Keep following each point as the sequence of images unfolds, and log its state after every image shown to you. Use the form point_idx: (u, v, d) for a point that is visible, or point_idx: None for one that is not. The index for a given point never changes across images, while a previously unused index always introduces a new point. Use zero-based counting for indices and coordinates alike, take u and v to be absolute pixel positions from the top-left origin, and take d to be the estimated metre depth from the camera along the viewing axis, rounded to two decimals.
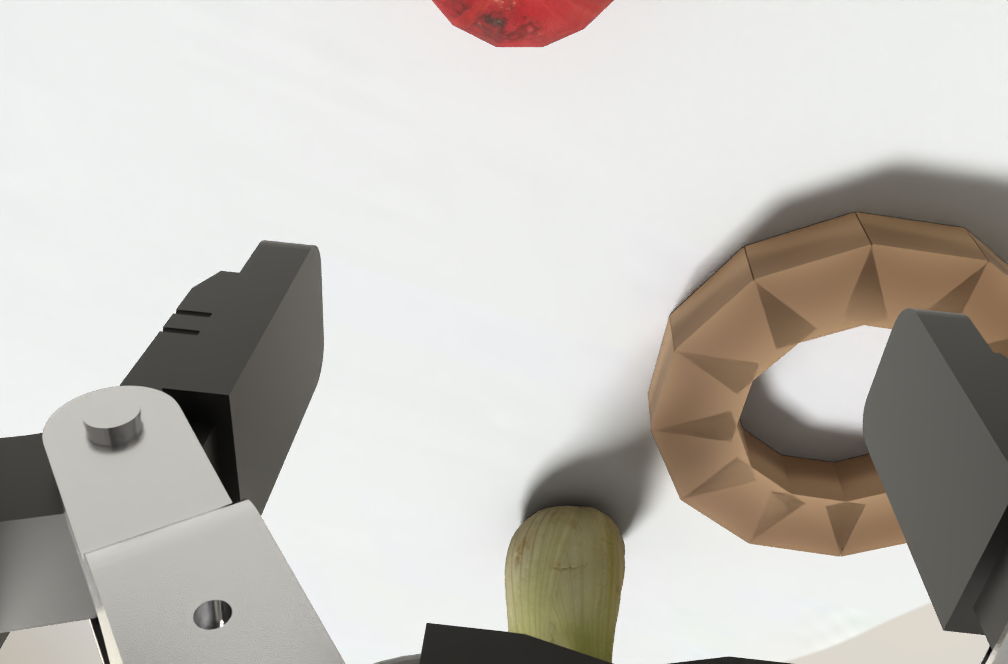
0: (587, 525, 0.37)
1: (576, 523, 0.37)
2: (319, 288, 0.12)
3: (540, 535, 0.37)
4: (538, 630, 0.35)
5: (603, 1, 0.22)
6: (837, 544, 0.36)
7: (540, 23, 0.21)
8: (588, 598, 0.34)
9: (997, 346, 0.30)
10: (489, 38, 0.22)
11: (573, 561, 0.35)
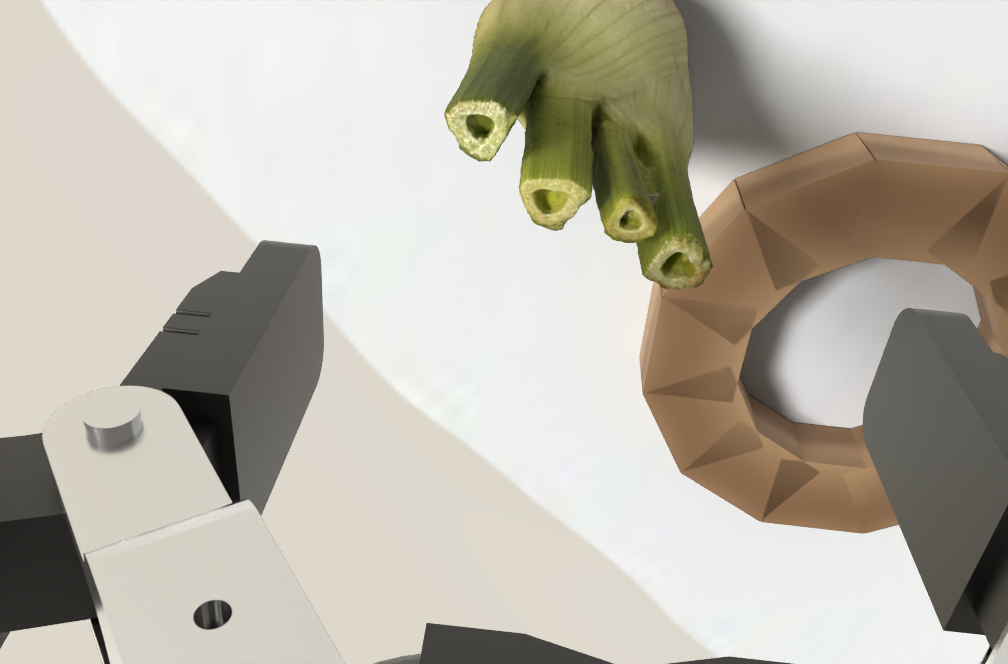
0: None
1: None
2: (319, 288, 0.12)
3: (681, 20, 0.23)
4: (622, 62, 0.21)
5: None
6: (663, 387, 0.30)
7: None
8: (688, 133, 0.22)
9: None
10: None
11: (685, 87, 0.23)
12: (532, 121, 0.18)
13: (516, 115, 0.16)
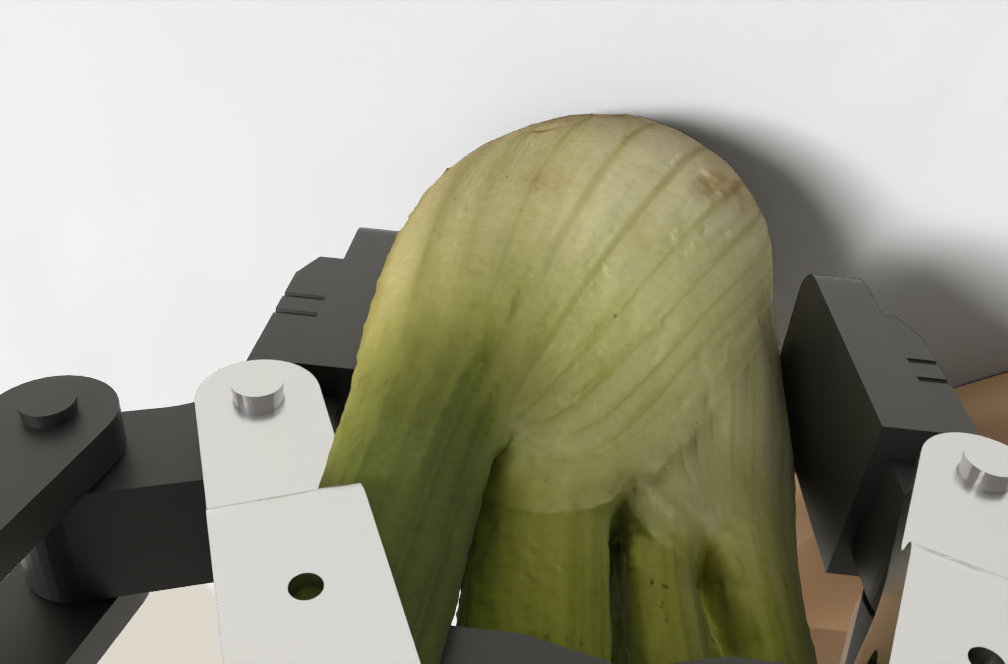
0: None
1: None
2: None
3: (764, 230, 0.13)
4: (670, 370, 0.10)
5: None
6: None
7: None
8: (789, 475, 0.11)
9: None
10: None
11: (775, 360, 0.12)
12: (470, 612, 0.08)
13: None
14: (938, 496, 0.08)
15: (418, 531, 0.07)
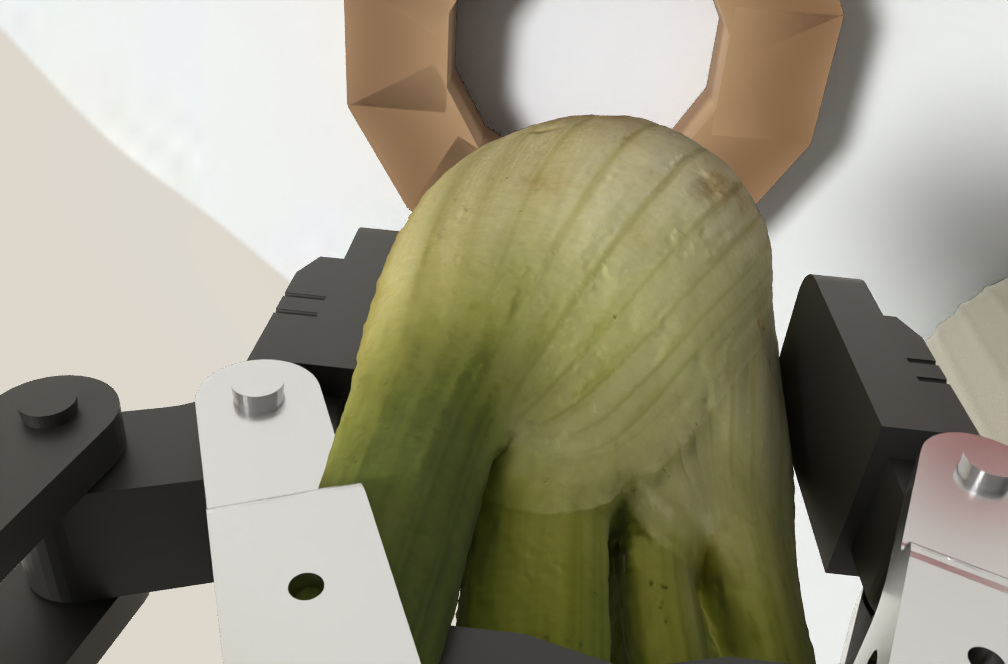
0: None
1: None
2: None
3: (763, 231, 0.13)
4: (668, 371, 0.10)
5: None
6: (368, 96, 0.27)
7: None
8: (788, 475, 0.11)
9: None
10: None
11: (773, 361, 0.13)
12: (470, 612, 0.08)
13: None
14: (937, 496, 0.08)
15: (418, 532, 0.07)
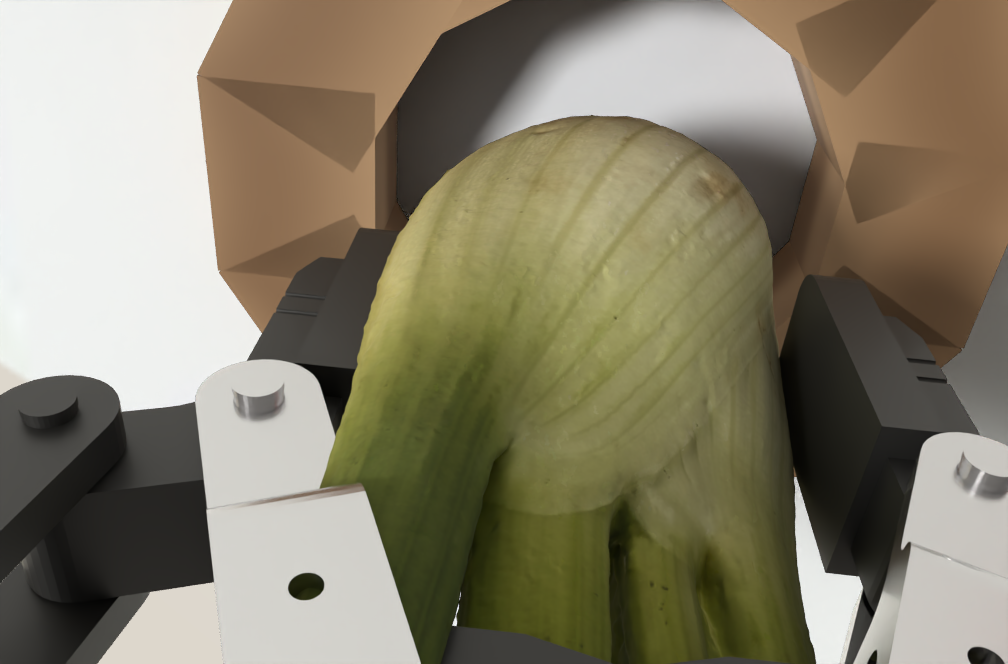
0: None
1: None
2: None
3: (764, 232, 0.13)
4: (669, 372, 0.10)
5: None
6: (251, 258, 0.17)
7: None
8: (789, 477, 0.11)
9: None
10: None
11: (774, 362, 0.13)
12: (471, 613, 0.08)
13: None
14: (938, 496, 0.08)
15: (419, 533, 0.07)
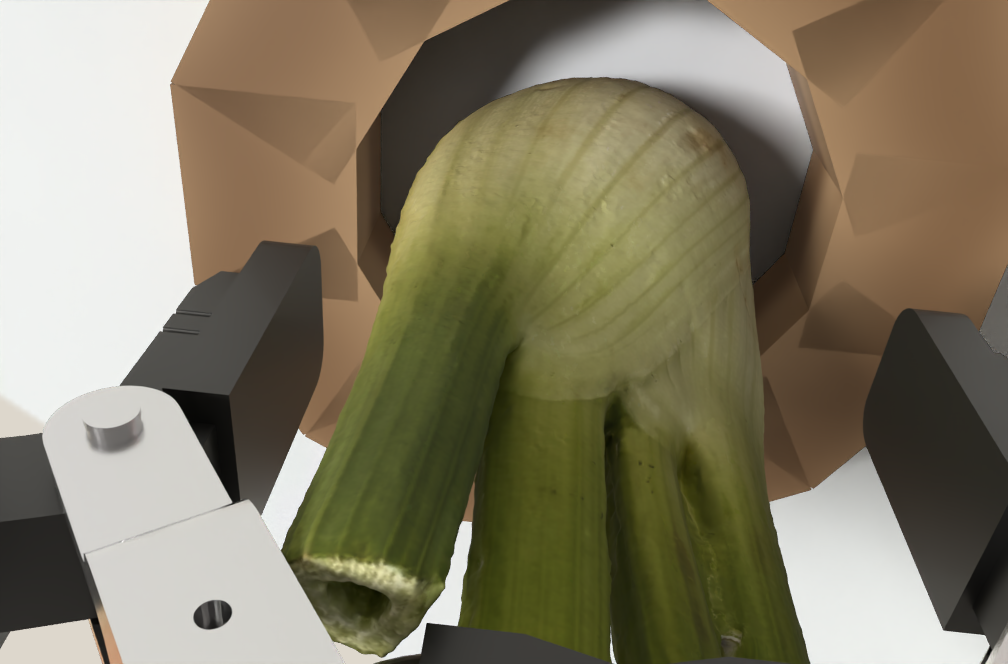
0: None
1: None
2: (319, 288, 0.12)
3: (743, 185, 0.14)
4: (657, 294, 0.12)
5: None
6: None
7: None
8: (760, 396, 0.13)
9: (770, 418, 0.17)
10: None
11: (749, 300, 0.14)
12: (488, 473, 0.09)
13: (443, 578, 0.07)
14: None
15: (450, 394, 0.08)
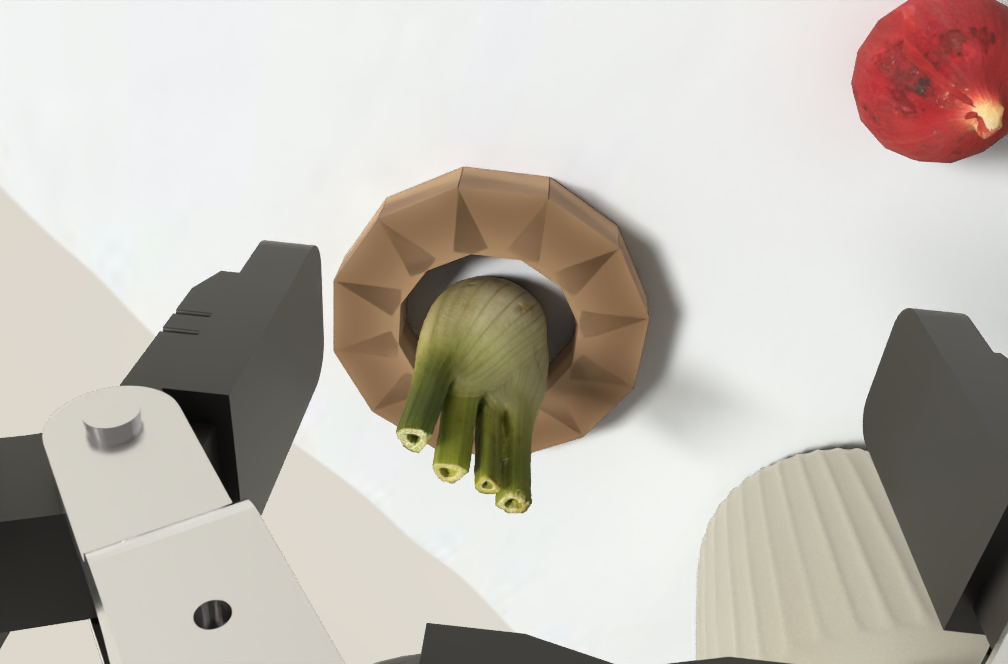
0: (548, 353, 0.41)
1: (547, 343, 0.41)
2: (319, 288, 0.12)
3: (541, 321, 0.40)
4: (500, 364, 0.37)
5: (903, 150, 0.32)
6: (347, 346, 0.41)
7: (913, 118, 0.30)
8: (538, 397, 0.38)
9: (562, 407, 0.42)
10: (894, 73, 0.30)
11: (541, 363, 0.39)
12: (443, 416, 0.34)
13: None
14: None
15: (434, 395, 0.34)
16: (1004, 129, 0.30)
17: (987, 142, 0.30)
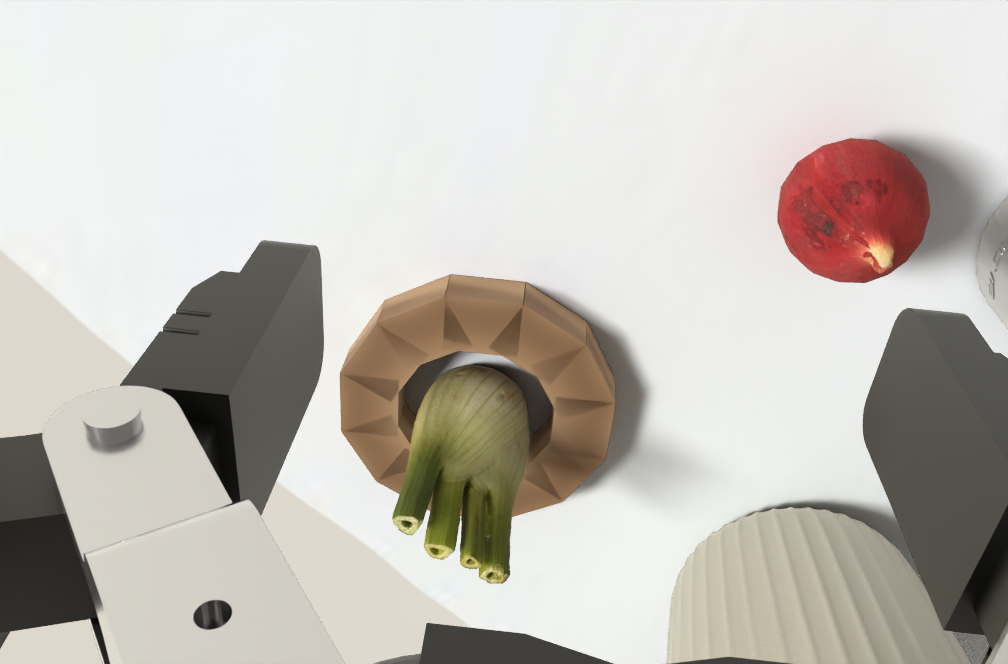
0: (529, 431, 0.47)
1: (527, 423, 0.47)
2: (319, 288, 0.12)
3: (521, 406, 0.45)
4: (483, 449, 0.43)
5: (819, 274, 0.37)
6: (353, 427, 0.47)
7: (822, 252, 0.36)
8: (518, 475, 0.44)
9: (543, 476, 0.48)
10: (806, 214, 0.36)
11: (521, 443, 0.45)
12: (434, 499, 0.40)
13: (422, 520, 0.38)
14: None
15: (425, 483, 0.39)
16: (900, 260, 0.35)
17: (887, 271, 0.36)
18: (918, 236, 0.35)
